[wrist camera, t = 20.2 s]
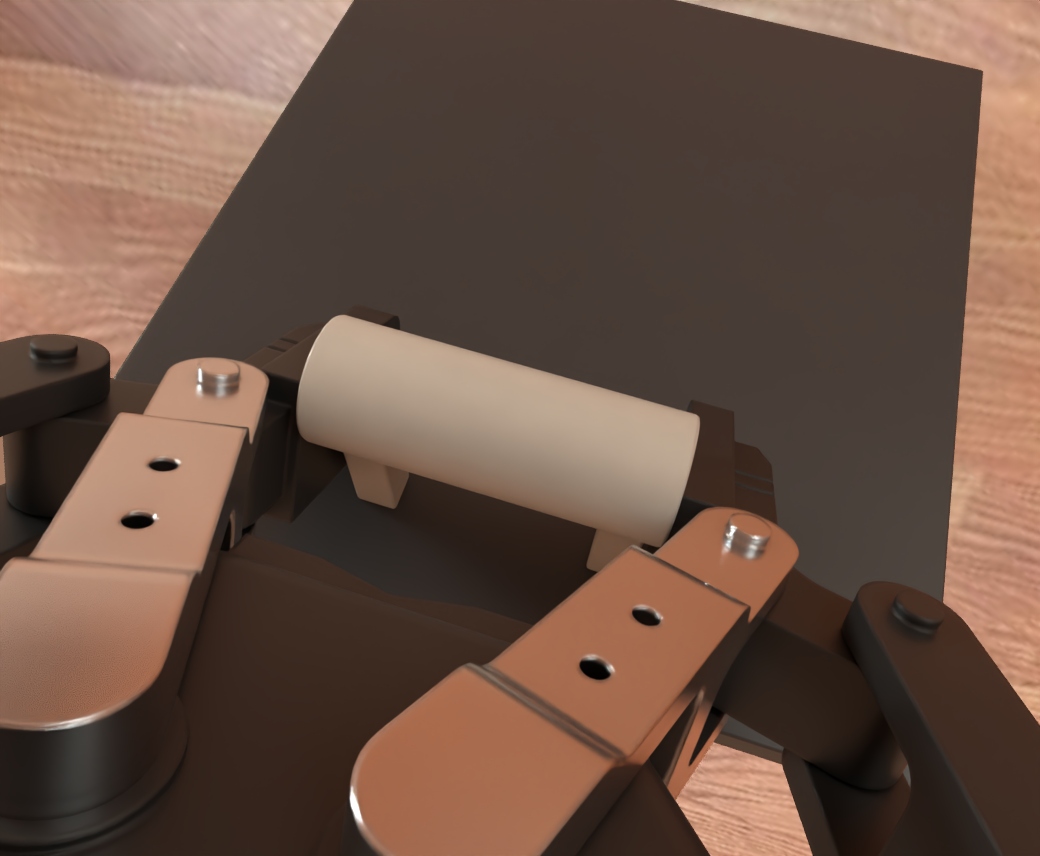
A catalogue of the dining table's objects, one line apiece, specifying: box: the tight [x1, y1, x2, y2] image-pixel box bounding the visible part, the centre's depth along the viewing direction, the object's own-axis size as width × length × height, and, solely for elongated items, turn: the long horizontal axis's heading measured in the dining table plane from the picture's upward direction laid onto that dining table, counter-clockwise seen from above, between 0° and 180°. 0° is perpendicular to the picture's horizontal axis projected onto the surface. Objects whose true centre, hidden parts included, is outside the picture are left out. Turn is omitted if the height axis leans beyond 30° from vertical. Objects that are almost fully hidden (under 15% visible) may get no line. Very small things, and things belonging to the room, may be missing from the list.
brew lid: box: [114, 0, 983, 788], centre depth 16 cm, size 17×15×5 cm
